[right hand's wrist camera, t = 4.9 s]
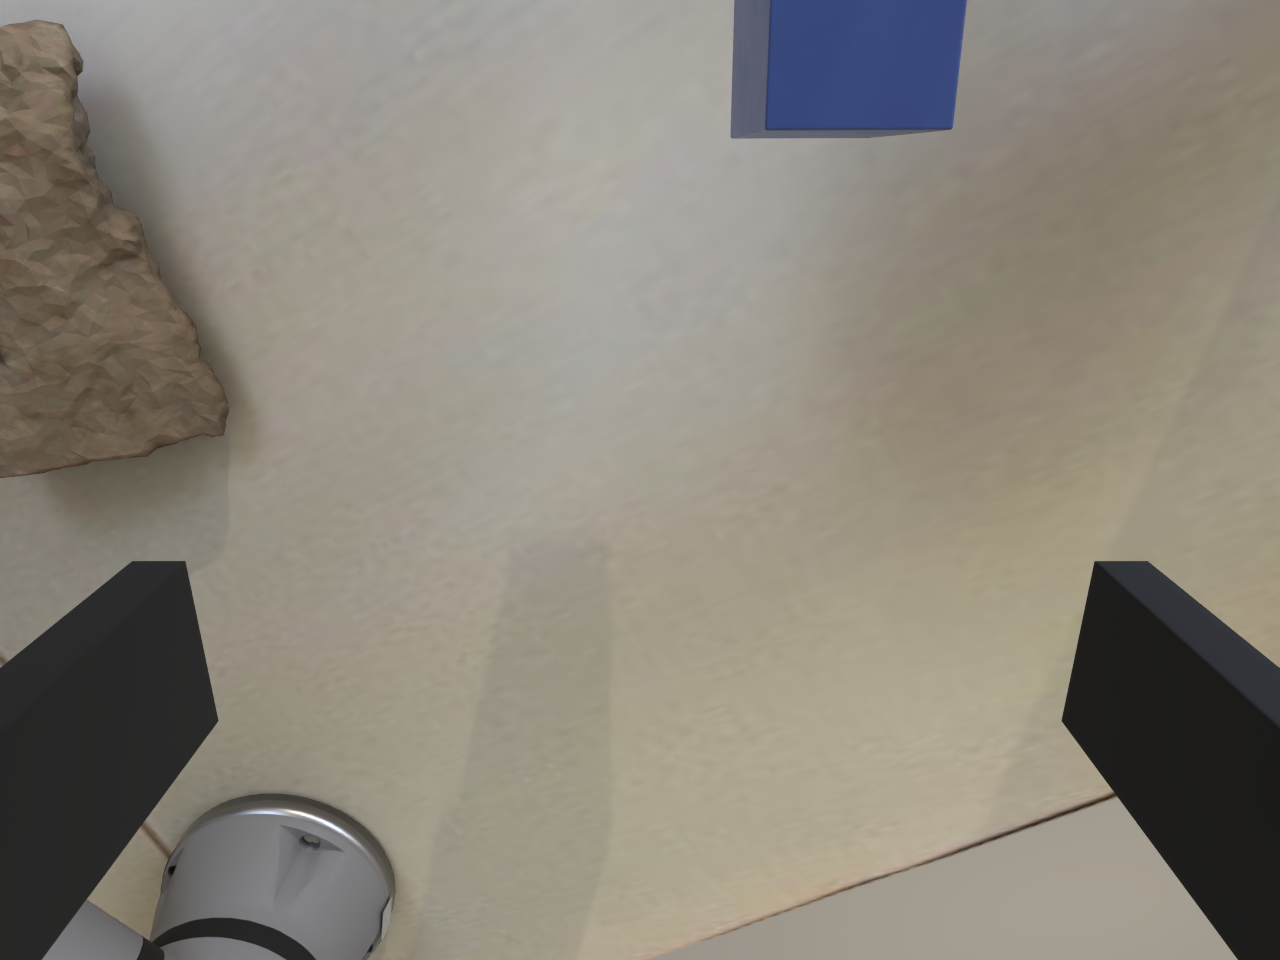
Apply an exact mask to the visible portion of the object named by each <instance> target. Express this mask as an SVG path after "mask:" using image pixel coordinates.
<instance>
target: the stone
mask: <svg viewBox="0 0 1280 960" xmlns="http://www.w3.org/2000/svg"><path fill="white" fill-rule="evenodd" d="M82 70H83V60H82V58H81V56H80V54H79V52H78V51H77V50H76V48H75V47H74V45H73V44H72V42H71V40H70V37H69V35H68V33H67V31H66V30H65V28H64V26H63V25H62V24H57V23H51V22H46V21H41V20H33V21H29V22H25V23H17V24H9V25H6V26H3V27H0V478H6V477H14V476H24V475H31V474H39V473H45V472H48V471H51V470H54V469H61V468H65V467H73V466H80V465H85V464H88V463H90V462H92V461H100V460H113V459H122V458H130V457H145V456H148V455H149V454H151V453H152V452H153V451H155V450H156V449H157V448H159V447H164V446H168V445H172V444H176V443H178V442H179V441H182V440H186V439H189V438H193V437H196V436H200V435H203V434H204V435H207V436H211V437H215V436H222V435H224V431H225V427H226V418H227V415H228V413H229V408H228V406H227V399H226V396H225V393H224V390H223V388H222V386H221V384H220V383H219V381H218V380H217V378H216V376H215V374H214V372H213V371H212V369H211V368H210V367H209V365H208V364H207V363H206V362H205V361H204V360H203V359H202V357H201V355H200V350H201V347H200V345H199V342H198V339H197V330H196V325H195V324H194V323H193V321H192V320H191V319H190V317H189V316H188V314H187V313H186V312H185V311H184V310H182V309H181V308H180V306H179V303H178V301H177V300H175V299H174V298H173V297H172V296H171V295H170V293H169V291H168V290H167V288H166V287H165V285H164V284H163V283H162V281H161V278H160V273H159V267H158V263H157V262H156V260H155V259H154V257H153V256H152V255H151V253H150V251H149V249H148V247H147V244H146V242H145V239H144V236H143V229H142V224H141V222H140V220H139V218H138V217H137V215H136V214H135V213H134V212H131V211H127V210H122V209H119V208H118V207H116V206H115V205H114V204H113V200H112V195H111V191H110V190H109V189H108V187H107V186H106V185H105V184H104V183H103V182H102V181H101V180H100V179H99V177H98V175H97V172H96V170H95V155H94V154H93V152H92V150H91V148H90V147H89V146H88V145H87V138H88V135H89V133H90V128H89V123H88V118H87V113H86V111H85V109H84V108H83V106H82V104H81V103H80V101H79V99H78V96H77V92H78V82H77V76H78V75H79V74H80V73H81V72H82Z"/></svg>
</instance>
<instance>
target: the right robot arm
mask: <svg viewBox="0 0 1280 960" xmlns="http://www.w3.org/2000/svg"><path fill="white" fill-rule="evenodd" d="M217 722H218V717H217V712H216V707H215V702H214V697H213V693H212V688H211V683H210V678H209V673H208V668H207V664H206V659H205V654H204V649H203V644H202V639H201V635H200V630H199V625H198V620H197V615H196V610H195V606H194V601H193V596H192V591H191V586H190V581H189V577H188V572H187V567H186V562H185V561H132V562H131V563H130V564H128V565H127V566H126V567H125V568H123V569H122V570H121V571H120V572H118V573H117V574H116V575H115V576H114V577H112V578H111V579H110V580H109V581H107V582H106V583H105V584H104V585H102V586H101V587H100V588H99V589H97V590H96V591H95V592H94V593H93V594H91V595H90V596H89V597H88V598H86V599H85V600H84V601H83V602H81V603H80V604H79V605H78V606H76V607H75V608H74V609H73V610H72V611H70V612H69V613H68V614H67V615H65V616H64V617H63V618H62V619H60V620H59V621H58V622H57V623H55V624H54V625H53V626H52V627H51V628H49V629H48V630H47V631H46V632H44V633H43V634H42V635H41V636H39V637H38V638H37V639H36V640H34V641H33V642H32V643H31V644H30V645H28V646H27V647H26V648H25V649H23V650H22V651H21V652H20V653H18V654H17V655H16V656H15V657H13V658H12V659H11V660H10V661H9V662H7V663H6V664H5V665H4V666H2V667H1V668H0V960H366V959H367V958H368V957H369V956H370V955H371V953H372V952H373V951H374V950H375V949H376V947H377V946H378V944H379V943H380V941H381V942H382V940H383V938H384V936H385V934H386V932H387V930H388V928H389V926H390V919H391V911H392V908H393V904H394V899H395V880H394V874H393V870H392V867H391V864H390V862H389V860H388V858H387V856H386V854H385V852H384V850H383V849H382V847H381V846H380V844H379V843H378V842H377V841H376V839H375V838H374V837H373V836H372V835H371V834H370V833H369V832H368V831H367V830H366V829H365V828H364V827H363V826H361V825H360V824H359V823H358V822H357V821H355V820H354V819H352V818H351V817H349V816H348V815H346V814H344V813H342V812H341V811H339V810H337V809H335V808H333V807H331V806H328V805H326V804H323V803H321V802H318V801H314V800H311V799H308V798H303V797H298V796H292V795H285V794H259V795H250V796H245V797H240V798H237V799H233V800H230V801H227V802H225V803H222V804H220V805H218V806H216V807H214V808H212V809H211V810H209V811H208V812H206V813H204V814H203V815H202V816H201V817H200V818H198V819H197V820H196V821H195V822H194V823H193V824H192V825H191V826H190V828H189V829H188V830H187V832H186V833H185V834H184V836H183V838H182V839H181V841H180V842H179V844H178V845H177V847H176V848H175V850H174V851H173V853H172V854H171V856H170V858H169V860H168V862H167V864H166V867H165V870H164V874H163V880H162V886H161V895H160V898H159V901H158V905H157V909H156V913H155V918H154V922H153V927H152V931H151V936H150V941H148V940H147V939H145V938H144V937H143V936H141V935H140V934H138V933H137V932H135V931H134V930H132V929H131V928H129V927H127V926H126V925H124V924H123V923H121V922H120V921H118V920H117V919H115V918H114V917H112V916H111V915H109V914H108V913H106V912H105V911H103V910H102V909H100V908H99V907H97V906H96V905H94V904H92V903H91V902H89V901H88V900H86V899H87V898H88V897H89V895H90V894H91V893H92V891H93V890H94V889H95V887H96V886H97V885H98V883H99V882H100V880H101V879H102V878H103V876H104V875H105V874H106V872H107V871H108V870H109V868H110V867H111V866H112V864H113V863H114V862H115V860H116V859H117V857H118V856H119V855H120V853H121V852H122V851H123V849H124V848H125V847H126V845H127V844H128V843H129V841H130V840H131V839H132V837H133V836H134V834H135V833H136V832H137V830H138V829H139V828H140V826H141V825H142V824H143V822H144V821H145V820H146V818H147V817H148V816H149V814H150V813H151V811H152V810H153V809H154V807H155V806H156V805H157V803H158V802H159V801H160V799H161V798H162V797H163V795H164V794H165V793H166V791H167V790H168V788H169V787H170V786H171V784H172V783H173V782H174V780H175V779H176V778H177V776H178V775H179V774H180V772H181V771H182V770H183V768H184V767H185V765H186V764H187V763H188V761H189V760H190V759H191V757H192V756H193V755H194V753H195V752H196V751H197V749H198V748H199V746H200V745H201V744H202V742H203V741H204V740H205V738H206V737H207V736H208V734H209V733H210V732H211V730H212V729H213V728H214V726H215V725H216V723H217ZM1062 722H1063V723H1064V725H1065V726H1066V728H1067V729H1068V730H1069V732H1070V733H1071V734H1072V736H1073V737H1074V738H1075V740H1076V741H1077V742H1078V744H1079V745H1080V746H1081V748H1082V749H1083V751H1084V752H1085V753H1086V755H1087V756H1088V757H1089V759H1090V760H1091V761H1092V763H1093V764H1094V765H1095V767H1096V768H1097V770H1098V771H1099V772H1100V774H1101V775H1102V776H1103V778H1104V779H1105V780H1106V782H1107V783H1108V784H1109V786H1110V787H1111V788H1112V790H1113V791H1114V793H1115V794H1116V795H1117V797H1118V798H1119V799H1120V801H1121V802H1122V803H1123V805H1124V806H1125V807H1126V809H1127V810H1128V811H1129V813H1130V814H1131V816H1132V817H1133V818H1134V820H1135V821H1136V822H1137V824H1138V825H1139V826H1140V828H1141V829H1142V830H1143V832H1144V833H1145V834H1146V836H1147V837H1148V838H1149V840H1150V841H1151V843H1152V844H1153V845H1154V847H1155V848H1156V849H1157V851H1158V852H1159V853H1160V855H1161V856H1162V857H1163V859H1164V860H1165V862H1166V863H1167V864H1168V866H1169V867H1170V868H1171V870H1172V871H1173V872H1174V874H1175V875H1176V876H1177V878H1178V879H1179V880H1180V882H1181V883H1182V884H1183V886H1184V887H1185V889H1186V890H1187V891H1188V893H1189V894H1190V895H1191V897H1192V898H1193V899H1194V901H1195V902H1196V903H1197V905H1198V906H1199V907H1200V909H1201V910H1202V912H1203V913H1204V914H1205V916H1206V917H1207V918H1208V920H1209V921H1210V922H1211V924H1212V925H1213V926H1214V928H1215V929H1216V931H1217V932H1218V933H1219V935H1220V936H1221V937H1222V939H1223V940H1224V941H1225V943H1226V944H1227V945H1228V947H1229V948H1230V950H1231V951H1232V952H1233V954H1234V955H1235V956H1236V958H1237V959H1238V960H1280V668H1279V667H1278V666H1276V665H1275V664H1274V663H1273V662H1271V661H1270V660H1269V659H1268V658H1267V657H1265V656H1264V655H1263V654H1262V653H1260V652H1259V651H1258V650H1257V649H1255V648H1254V647H1253V646H1252V645H1250V644H1249V643H1248V642H1247V641H1246V640H1244V639H1243V638H1242V637H1241V636H1239V635H1238V634H1237V633H1236V632H1234V631H1233V630H1232V629H1231V628H1229V627H1228V626H1227V625H1226V624H1225V623H1223V622H1222V621H1221V620H1220V619H1218V618H1217V617H1216V616H1215V615H1213V614H1212V613H1211V612H1210V611H1208V610H1207V609H1206V608H1205V607H1204V606H1202V605H1201V604H1200V603H1199V602H1197V601H1196V600H1195V599H1194V598H1192V597H1191V596H1190V595H1189V594H1187V593H1186V592H1185V591H1184V590H1183V589H1181V588H1180V587H1179V586H1178V585H1176V584H1175V583H1174V582H1173V581H1171V580H1170V579H1169V578H1168V577H1166V576H1165V575H1164V574H1163V573H1162V572H1160V571H1159V570H1158V569H1157V568H1155V567H1154V566H1153V565H1152V564H1150V563H1149V562H1148V561H1095V562H1094V567H1093V572H1092V577H1091V581H1090V586H1089V591H1088V596H1087V601H1086V606H1085V610H1084V615H1083V620H1082V625H1081V630H1080V635H1079V639H1078V644H1077V649H1076V654H1075V659H1074V664H1073V668H1072V673H1071V678H1070V683H1069V688H1068V693H1067V697H1066V702H1065V707H1064V712H1063V717H1062Z"/></svg>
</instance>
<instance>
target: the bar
mask: <svg viewBox="0 0 1280 960" xmlns="http://www.w3.org/2000/svg"><path fill="white" fill-rule="evenodd" d="M966 3H967V0H735V4H734V38H733V73H732V107H731V138H871V137H881V136H892V135H902V134H912V133H922V132H933V131H943V130H950V129H952V127H953V120H954V111H955V102H956V93H957V84H958V75H959V66H960V57H961V48H962V39H963V30H964V21H965V12H966Z"/></svg>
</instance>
